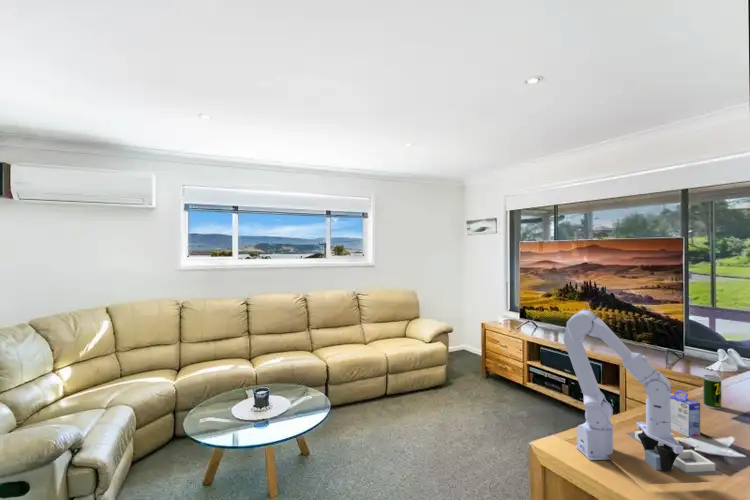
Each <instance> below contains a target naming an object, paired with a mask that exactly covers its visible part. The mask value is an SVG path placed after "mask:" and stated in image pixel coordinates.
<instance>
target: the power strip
mask: <svg viewBox="0 0 750 500" xmlns="http://www.w3.org/2000/svg"><path fill="white" fill-rule="evenodd" d="M639 433H642V430H636V431H634V432H625V434H626V435H628V436H630V437H631V438H632V439H633V440H635V441H637V442H638V443H639V444H640V445H642V446H643V444H642V442H641V440H640V439H639V437H638V434H639ZM676 441H677V442H678V443H679V444H680V442H679V441H678V440H676ZM658 446H664V444H663V443H661V442H659V443H658ZM673 467H674V468H676V469H678V470H679V471H681V472H682V473H683V474H684V475H686V476H695V475H696V476H697V475H699V476H700V475H720V474H721V475H722V474H723V473H722V472H720V471H719V470H717V469H716V463H715V462H713V461H711V460H710V459H708V458H706V457H704V456H703V455H701V454H700V453H698V452H696V451H694V450H693V449H683V454H679V455H678V456H677V458H676V459H675V461H674V463H673Z"/></svg>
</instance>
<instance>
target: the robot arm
mask: <svg viewBox="0 0 750 500" xmlns="http://www.w3.org/2000/svg"><path fill="white" fill-rule="evenodd" d="M589 332H590V333H589ZM588 333H589V336H590V337H594V338H598V339H601V340H602V341H603V342H604V343H605V344H607V345H606V346H608V347H609V348H610V349H612V351H613V352H615V353H616V354H617V355H618V356H619V358H621V360H622V366H623V367H624V368H625V369H626V370H627V371H628V373H630V374H631V375H632V376H633V377H634V378H635V379H636V380H637V381H638V383H639V384H641V385H643V386H644V392H645V393H646V399H645V422H643V421H637V422H636V430H637V431H642V433H639V434H638V437H639V439H640V440H641V442H642V444H643V445H642V444H641V445H642V447H643V450H644V451H645V450H655V446H656V448H657V450H658V452H659V455H660V460H661V468H662V470H661V471H662V472H664V473H667V472H670V473H671V471H672V470H673V469H672V466H673V463H674V461H675V459H676V458H677V456H678V455H679V454H683V450H684V446H683V445H682V444H680V442H679V441H678V440H676V438H675V434H674V433H672V429H671V405H670V397H669V396H670V394H671V390H672V386H671V382H670V380H669V379H668V378H667V376H666V375H664V374H662V372H661V371H660V370H656V369H655V367H654V366H652V364H650V362H648V360H649V359H648V358H647V356H645V355H642V354H641V353H639V352H633V351H631V349H629V348H628V346H627V345H626V344H625V343H624V342H623V341H622V340H621V339H620V337H618V336H617V335H616V333H615V332H614V331H612V329H611V328H610V327H609V326H608V325H607V324H606V323H605V322H604V320H603V319H602V318H600V317H599V316H598V317H597V314H595V313H594V312H593V311H592V310H589V309H582V310H579V311H578V312H577V313H575V314H572V316H571V317H570V318H569V319H568V320H567V321H566V328H565V331H564V336H563V343H564V346H565V349H566V352H567V354H568V357H569V359H570V362H571V364H572V368H573V370H574V373H575V376H576V378H577V382H578V384H579V387H580V390H581V393H582V394H583V396H582V397H583V407H584V409H585V412H584V418H585V422H583V423H582V424H578V426H577V427H576V445H575V448H576V449H577V450H578V451H580V453H582V455H583V456H585V458H587V459H588V460H590V461H597V460H598V461H602V460H603V461H604V460H605V461H606V460H607V461H608V460H613V458H612V457H610V456H609V455H612V454H614V429H613V428H614V425H613V423H612V421H611V420H610V419H611V418H612V416H613V414H614V409H613V406H612V404H611V403H610V402H608V400H607V399H606V396H605V394H604V393H603V392H602V391H601V390H600V386H599V384H598V382H597V379H596V376H595V373H594V370H593V368H592V365H591V362H590V360H589V357H588V355H587V352H586V349H585V346H584V344H583V340H584V339H585V337H586V336H587V334H588ZM677 441H678V442H679V443H678V442H677ZM659 442H661V443H663V444H664V446H658V443H659ZM673 467H674V466H673Z"/></svg>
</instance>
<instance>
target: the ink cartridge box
mask: <svg viewBox="0 0 750 500" xmlns="http://www.w3.org/2000/svg"><path fill="white" fill-rule="evenodd" d="M680 393H682V394H684V395H682V394H680ZM689 395H690V394H689V392H686V391H684V390H681V389H677V390H676V392H675V393H671V394H670V396H669V397H670V405H671V431H675V432H676V433H679V434H681V435H683V436H685V437H688V438H692V437H693V438H694V437H699V436H701V403H700V402H698V401H695V400H693V399H690V398H688V397H689Z"/></svg>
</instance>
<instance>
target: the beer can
mask: <svg viewBox="0 0 750 500" xmlns="http://www.w3.org/2000/svg"><path fill="white" fill-rule="evenodd" d="M702 380H703V383H702V384H703V386H702V387H703V390H702V391H703V393H702V394H703V404H704V407H705V408H707V409H712V410H721V408H722V403H723V402H722V401H723V400H722V379H721V377H720V376H718V375H715V374H713V375H712V374H704V375H703V379H702Z"/></svg>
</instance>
